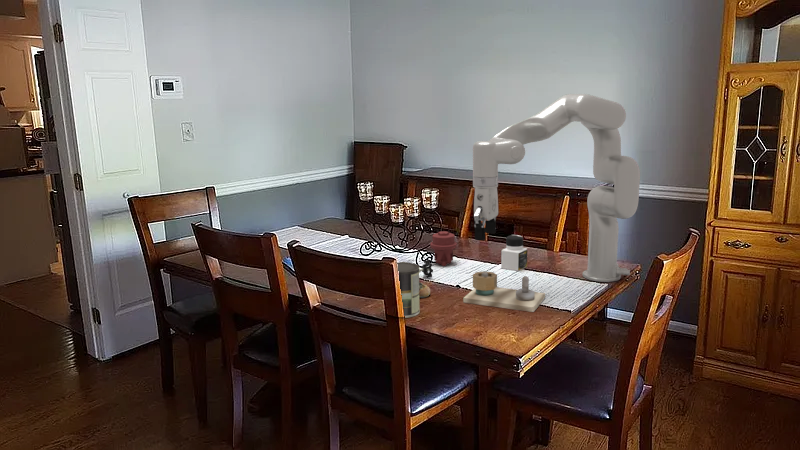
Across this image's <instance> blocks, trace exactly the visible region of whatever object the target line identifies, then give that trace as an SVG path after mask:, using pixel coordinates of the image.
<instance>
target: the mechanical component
mask: <svg viewBox="0 0 800 450" xmlns="http://www.w3.org/2000/svg"><path fill="white" fill-rule="evenodd" d="M431 237H432V241H431V242H430V245H429V247H430V248H431V249H432V250H433V251H434V252H433V253H434V262H435V263H436V264H437V263H438V265H441V266H442V267H446V266H447V265H448V264H451V263H452V261H453V260H454V250H455V249H456V248H457V246H458V243H457V242H456V239H455V237H456V236H455V234H454V233H451V232H449V231H445V230H444V231H442V230H441V231H438V232H436V233H433V234H432V236H431Z"/></svg>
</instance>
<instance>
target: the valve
mask: <svg viewBox="0 0 800 450" xmlns="http://www.w3.org/2000/svg"><path fill="white" fill-rule="evenodd" d="M430 262H431V260H430V259H426V260H424V261H423V264H422V266H421V267H420V266H419V274H420V273H421V272H422V273H423V275H424V276H426V279H429V278H428V277H430V278H432V277H433V274H432V273H434V270H433V269H432V267H433V263H430Z"/></svg>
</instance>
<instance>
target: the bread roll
mask: <svg viewBox="0 0 800 450" xmlns="http://www.w3.org/2000/svg"><path fill="white" fill-rule="evenodd" d="M429 295H430V296H431V288H430V287H429V286H428V285H427V284H424V283H423V282H420V281H419V298H421V299H424V298H428V297H430V296H429Z"/></svg>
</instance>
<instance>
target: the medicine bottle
mask: <svg viewBox="0 0 800 450" xmlns="http://www.w3.org/2000/svg"><path fill="white" fill-rule="evenodd" d="M505 239H506V241H505V242H506V245H505V248H503V249H501V252H500V253H501V264H500V266H501V269H502V270H509V271H516V272H519V271H521V270H523V269H524V270H525V268H527V267H528V248H526V247H524V237H523V236H521V235H518V234H511V235H508V236H506V237H505Z"/></svg>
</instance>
